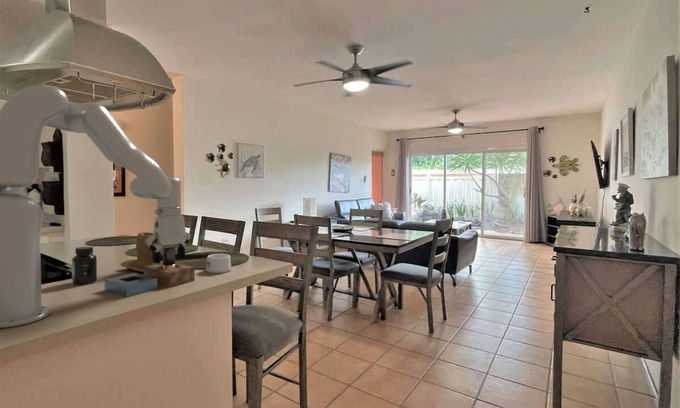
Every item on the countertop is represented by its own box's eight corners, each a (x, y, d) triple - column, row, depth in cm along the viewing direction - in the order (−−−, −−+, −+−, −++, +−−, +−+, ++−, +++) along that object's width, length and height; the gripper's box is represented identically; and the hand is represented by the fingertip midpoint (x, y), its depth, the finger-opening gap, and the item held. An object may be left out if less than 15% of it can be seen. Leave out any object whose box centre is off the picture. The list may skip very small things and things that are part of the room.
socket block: (126, 296, 108) (126, 285, 107) (104, 290, 113) (104, 279, 113) (157, 288, 116) (157, 278, 116) (135, 282, 122) (135, 272, 122)
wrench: (214, 262, 162) (141, 266, 143) (211, 261, 166) (138, 264, 147) (215, 251, 162) (142, 253, 144) (211, 250, 166) (139, 252, 148)
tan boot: (171, 269, 141) (171, 232, 140) (141, 276, 130) (141, 236, 129) (149, 264, 148) (148, 228, 147) (119, 269, 138) (119, 231, 137)
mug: (235, 271, 142) (235, 256, 141) (212, 275, 135) (212, 259, 134) (221, 265, 150) (221, 251, 150) (198, 269, 143) (198, 254, 143)
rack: (169, 287, 118) (169, 272, 118) (143, 280, 125) (143, 266, 124) (194, 280, 127) (194, 266, 126) (169, 274, 133) (169, 261, 133)
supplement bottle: (69, 286, 116) (69, 250, 115) (75, 280, 122) (74, 246, 122) (94, 284, 119) (94, 249, 118) (98, 278, 125) (98, 245, 125)
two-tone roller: (167, 282, 123) (167, 249, 122) (160, 280, 125) (160, 247, 124) (177, 280, 126) (177, 247, 126) (170, 278, 128) (170, 245, 127)
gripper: (152, 214, 115) (153, 266, 116) (197, 211, 130) (196, 257, 131) (138, 213, 118) (139, 263, 119) (183, 210, 134) (183, 255, 135)
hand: (169, 260), depth 125 cm, fingers open, 9 cm apart
